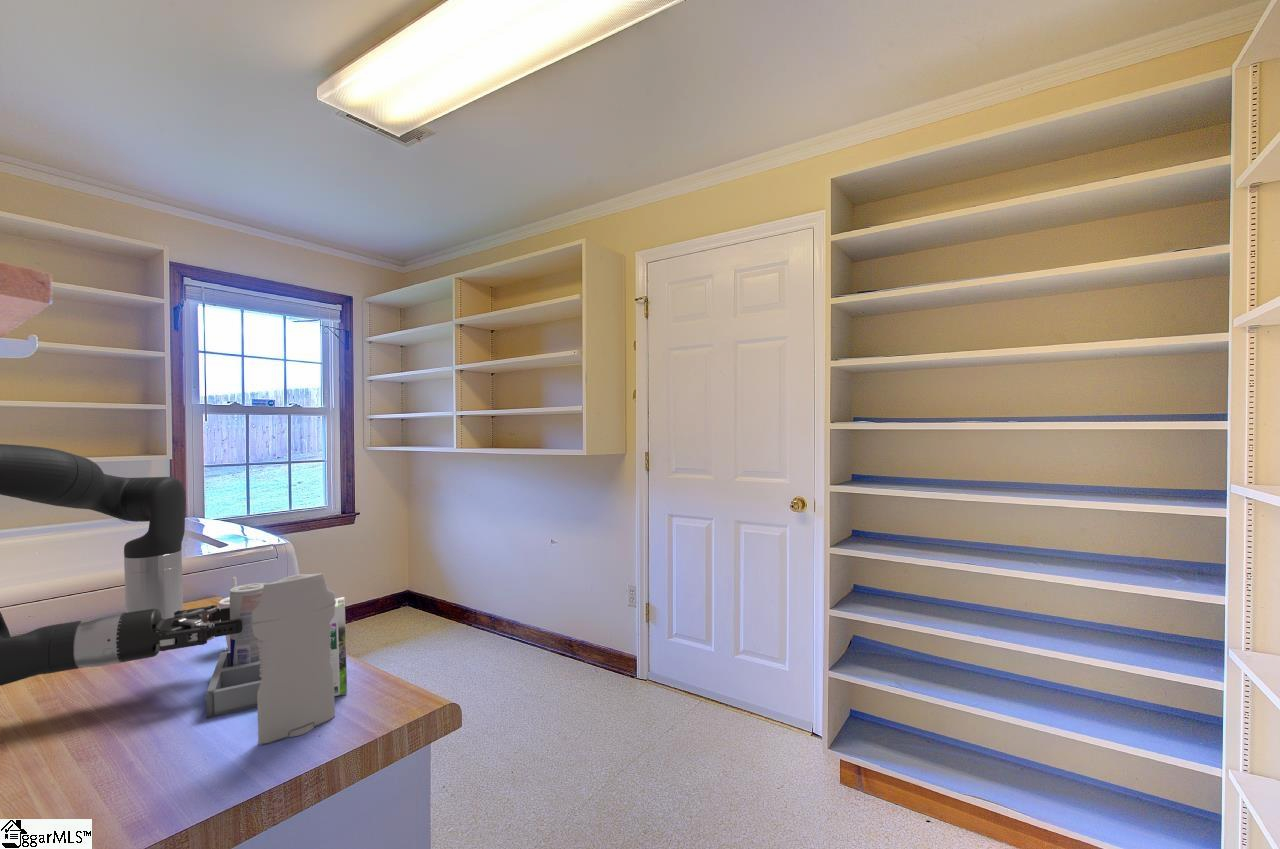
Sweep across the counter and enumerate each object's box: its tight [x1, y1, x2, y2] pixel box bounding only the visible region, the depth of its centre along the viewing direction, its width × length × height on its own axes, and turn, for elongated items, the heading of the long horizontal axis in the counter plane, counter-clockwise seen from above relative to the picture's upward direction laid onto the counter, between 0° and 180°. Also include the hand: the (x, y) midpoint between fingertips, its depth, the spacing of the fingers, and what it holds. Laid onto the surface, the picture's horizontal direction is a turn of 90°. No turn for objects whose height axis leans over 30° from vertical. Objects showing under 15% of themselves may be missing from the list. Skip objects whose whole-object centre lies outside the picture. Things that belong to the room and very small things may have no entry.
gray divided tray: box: [205, 650, 261, 719], centre depth 95 cm, size 18×10×4 cm, turn 31°
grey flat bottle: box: [252, 572, 336, 746], centre depth 81 cm, size 11×4×22 cm, turn 139°
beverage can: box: [229, 582, 268, 667], centre depth 99 cm, size 6×6×15 cm
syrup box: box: [330, 596, 348, 697], centre depth 93 cm, size 6×6×14 cm
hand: (244, 618), depth 99 cm, fingers open, 8 cm apart
